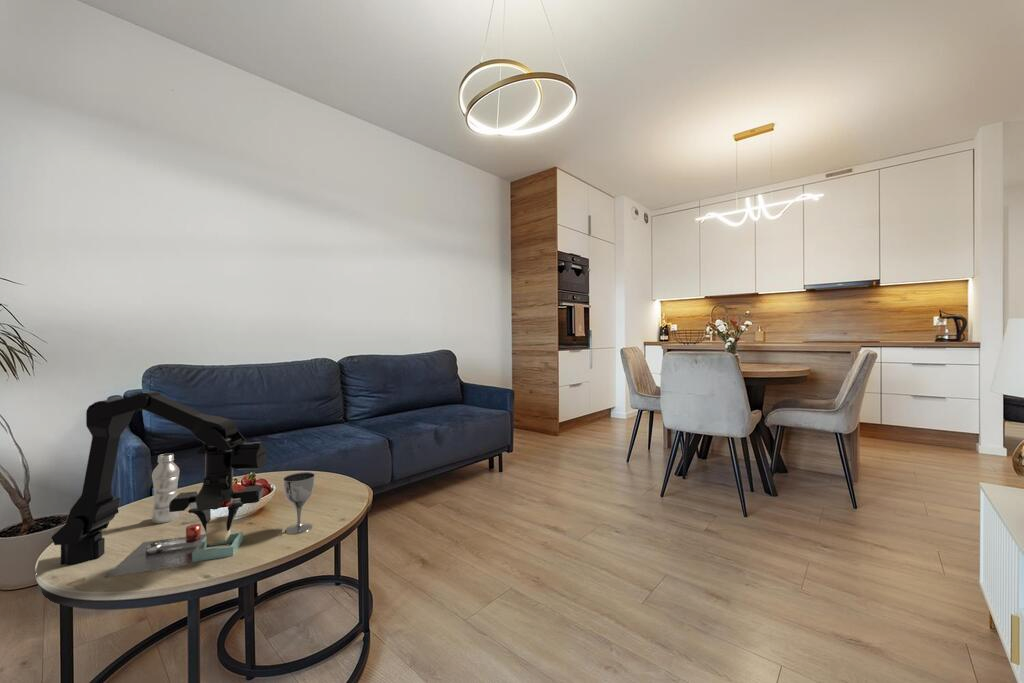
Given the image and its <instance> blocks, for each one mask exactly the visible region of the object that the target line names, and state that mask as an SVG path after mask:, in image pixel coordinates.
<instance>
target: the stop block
mask: <svg viewBox="0 0 1024 683" xmlns="http://www.w3.org/2000/svg"><path fill="white" fill-rule="evenodd" d="M227 521H228V515H221V516H214V517H211V519H210V521H209V522H208V523H207V524H206V531H205V534H206V544H212V543H219V542H225V541H226V540H227V539H228V537H229V536H230V533H231V529H230V530H229V531H227Z"/></svg>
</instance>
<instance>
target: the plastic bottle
mask: <svg viewBox="0 0 1024 683" xmlns="http://www.w3.org/2000/svg"><path fill="white" fill-rule="evenodd" d="M174 457H175V454H174V453H170V452H169V453H168V452H167V453H163V454H159V455H158V456H157V463H158V464H157V466H156V467H155V468H154V469H153V471H152V473H151V478H152V479H151V480H152V487H153V504H152V509H151V510H152V511H151V515H150V519H151V522H153V523H154V524H156V525H157V524H158V525H159V524H165V523H169V522H172V521H174V520H176V519H177V518H178V517H179V515H180V511H176V512H169V504H170V501H172V500H173V499H174V498H175V497H176V496H177V495H178V486H179V485H178V484H179V483H178V482H179V478H180V468H179V467H178V465H177V464H176V463H175V462H174V461H175V458H174Z"/></svg>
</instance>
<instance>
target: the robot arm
mask: <svg viewBox="0 0 1024 683" xmlns="http://www.w3.org/2000/svg"><path fill="white" fill-rule="evenodd" d="M142 411H146V412H148V413H150V414H153V415H155V416H157V417H160V418H161V419H164V420H166V421H168V422H171V423H173V424H176V425H178V426H180V427H181V428H184V429H187V430H188V431H190V433H191V434H192V435H193V436H194V438H195V439H197V440H199V441H200V442H202V443H203V444H202V445H201V447H200V448H199V449H197V450H196V451H195V452H194V453H195V454H196V455H205V456H204V460H205V461H204V477H203V481H202V486H201V488H200V490H199V491H198V492H197V490H196V491H187V492H179V494H177V496H176V497H175V498H174V499H173V500H172V501H170V504H169V512H176V511H179V512H183V511H185V510H186V509H187V508H188V507H189V509H188V511H187V512H188V513H189V514H194V515H196V516H197V518H198V519H199V521H200V522H201V524H202V525H201V526H203V529H204V531H205V532H206V524H207V523H208V522H209V521H210V519H211V518H212V517H211V510H213V511H215V510H218V509H220V508H221V507H222V505H223V503H226V502H230V504H229V505H228V506H227V510H228V511H227V512H228V515H227V516H228V521H227V531H229V530H230V531H231V528H232V526H233V523H234V521H235V518H236V515H237V513H238V510H239V509H240V508H241V507H243V506H244V505H248V504H256V503H259V502H260V501H261V499H262V498H263V496H264V486H262V485H261V484H259V485H256V484H255V485H248V486H245V487H244V489H243V490H240V491H239V490H237V491H234V480H233V479H234V478H233V476H234V471H235V470H239V471H242V470H244V471H245V470H262V469H263V468H264V467H265V466H266V463H267V459H268V452H267V450H266V447H265V446H264V441H255V442H247V439H246V437H244V436H243V435H242V433H241V432H240V431H239V429H238V426H237V423H236V422H235V421H234V420H233V419H229V418H227V417H223V416H220V415H211V414H206V413H202V412H200V411H198V410H196V409H193V408H191V407H189V406H187V405H184V404H183V403H180V402H178V401H176V400H173V399H171V398H169V397H166V396H165V395H162V394H161V393H160V392H158V391H155V390H151V391H145V392H139V393H137V394H135V395H131V396H127V397H118V398H111V399H105V400H100V401H96V402H93V403H92V404H91V405H89V406H88V407H87V409H86V412H85V414H86V415H85V416H86V417H85V420H86V422H85V424H86V425H85V426H86V428H87V430H88V431H89V433H90V434H91V442H90V447H89V448H90V449H89V453H88V459H87V464H86V469H85V475H84V481H83V485H82V486H83V487H82V491H81V494H80V497H79V498H77V500H76V501H75V503H74V504H73V505H72V507H71V508H70V510H69V513H68V515H67V518H66V520H65V524H64V525H63V526H62V527H61V528H60V529H59V530H57V531H56V532H55V533H54V534H53V535H51V539H52V542H53V544H54V546H60V565H66V566H74V565H80V564H83V563H86V562H89V561H93V560H94V561H95V560H98V559H99V558H101V557H102V556H103V555H104V554H105V544H106V543H105V537H103V530H106V529H107V528H109V525H110V523H111V521H112V520H114V518H115V515H117V514H119V512H120V511H119V504H120V502H121V498H120V497H114V496H113V493H111V489H112V488H111V487H112V483H113V478H114V473H115V467H116V466H115V465H116V461H117V455H118V451H119V450H118V449H119V445H120V439H121V436H122V433H124V431H125V430H126V429H127V427H128V426H129V425H130V424H131V421H132V418H133V417H134V413H138V412H142ZM234 469H235V470H234Z"/></svg>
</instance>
